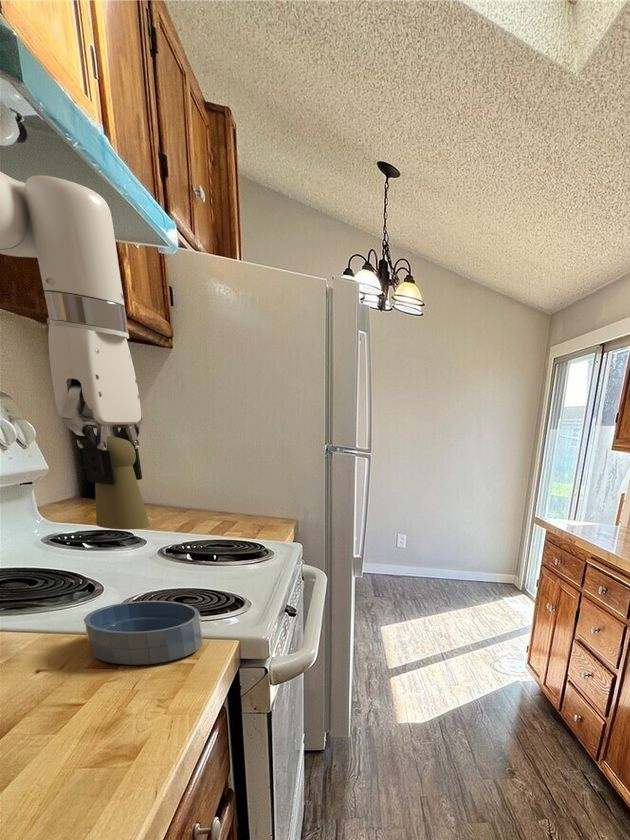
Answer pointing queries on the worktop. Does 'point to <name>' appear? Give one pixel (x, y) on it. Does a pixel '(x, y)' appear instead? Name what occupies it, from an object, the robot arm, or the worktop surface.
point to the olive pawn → (121, 492)
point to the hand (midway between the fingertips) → (116, 479)
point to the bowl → (144, 632)
